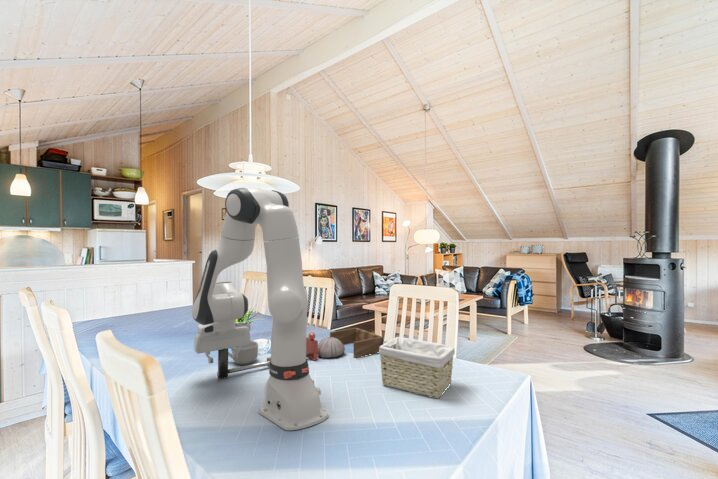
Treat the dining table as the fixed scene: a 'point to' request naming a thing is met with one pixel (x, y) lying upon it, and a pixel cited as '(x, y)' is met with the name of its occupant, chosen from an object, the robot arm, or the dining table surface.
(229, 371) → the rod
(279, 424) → the robot arm
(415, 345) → the storage basket
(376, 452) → the dining table surface
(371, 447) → the dining table surface
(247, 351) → the teacup
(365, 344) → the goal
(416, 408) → the dining table surface
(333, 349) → the sea urchin shell
